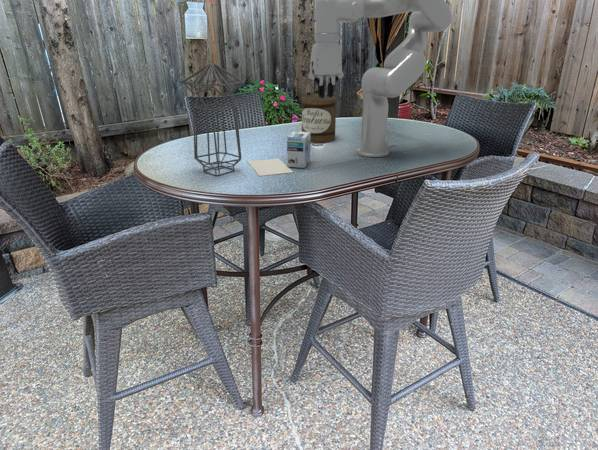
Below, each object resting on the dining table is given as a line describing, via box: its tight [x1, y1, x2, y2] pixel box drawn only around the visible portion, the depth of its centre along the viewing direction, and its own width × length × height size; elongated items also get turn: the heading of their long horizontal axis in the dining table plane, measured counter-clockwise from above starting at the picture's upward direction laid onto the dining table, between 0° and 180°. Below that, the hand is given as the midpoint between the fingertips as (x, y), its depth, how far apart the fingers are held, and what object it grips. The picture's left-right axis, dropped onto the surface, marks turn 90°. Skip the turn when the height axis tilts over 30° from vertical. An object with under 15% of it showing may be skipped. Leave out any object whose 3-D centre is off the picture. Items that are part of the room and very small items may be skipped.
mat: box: [247, 158, 294, 177], centre depth 152 cm, size 12×18×1 cm, turn 19°
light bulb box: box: [286, 130, 311, 169], centre depth 153 cm, size 11×7×11 cm, turn 169°
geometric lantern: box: [180, 63, 246, 177], centre depth 141 cm, size 16×16×35 cm
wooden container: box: [301, 87, 337, 144], centre depth 186 cm, size 15×15×22 cm
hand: (325, 96), depth 149 cm, fingers open, 2 cm apart
